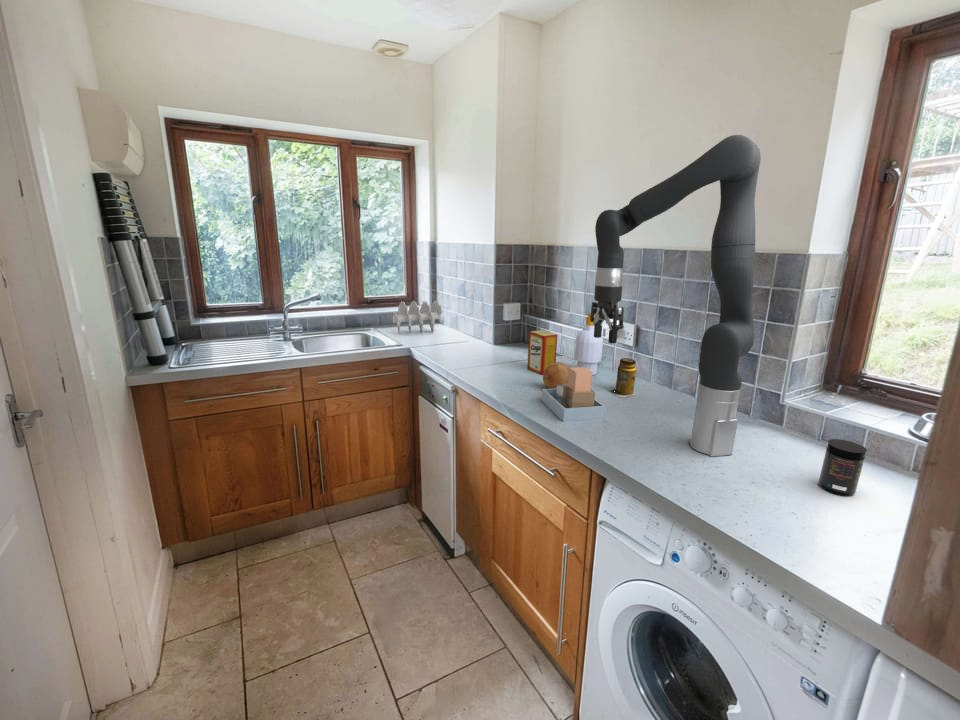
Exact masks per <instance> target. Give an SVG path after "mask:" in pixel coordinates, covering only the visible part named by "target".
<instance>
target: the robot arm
mask: <svg viewBox="0 0 960 720" xmlns="http://www.w3.org/2000/svg"><path fill="white" fill-rule="evenodd" d="M760 150H761V149H760V148H759V147H758V145H757V144H756V143H755V142H754V141H753V140H752V139H751V138H750V137H747V136H746V135H742V134H734V135H729V136H727V137H725V138H723V139H722V140H720V141H719V142H718V143H716V144H715V145H714V146H712V147H711V148H709V149H708V150H707V151H706V152H704V153H703V154H702V155H701V156H700V157H698V158H696V159H695V160H693V161H692V162H691V163H690V164H688V165H687V166H685V167H684V168H682V169H681V170H678V172H676V173H674V174H673V175H671V176H669V177H668V178H666V179H664V180H663V181H661V182H659V183H657V184H655V185H653V186H651V187H649V189H645V191H643V192H641V193H640V194H637V195H636V196H634V197H633V198H632V199H630V201H629V203H628V204H627V205H625V206H623V207H622V208H619V209H618V210H616V209H614V210H613V209H605V210H603V211H601V213H600V214H599V215H598V216H597V218H596V222H595V227H594V228H595V230H594V232H595V240H596V247H597V252H598V253H597V264H596V272H595V280H594V294H593V299H594V301H592V302H591V310H590V313H591V318H590V321H591V322H593V324H594V337H595V338H600V337H601V335H602V331H603V323H604V322H605V323H606V324H607V326H608V329H609V330H608V338H607V343H608V344H611V345H612V344H617V341H618V340H617V339H618V331H619V330H623V328H624V315H625V314H624V313H625V312H624V311H625V310H624V307H620V306H619V307H618V303H619V302H621V301H622V295H623V283H624V262H625V261H624V257H625V250H624V248H623V247H622V246H621V244H620V242H621V241H620V237H622V236H624V235H626V234H628V233H631V232H632V231H633V230H635V229H636V228H637V227H639V226H640V225H642V224H643V223H645V222H647V221H649V220H651V219H653V218H655V217H658V216H659V215H662V214H663V213H665V212H667V211H668V210H670V209H672V208H673V207H675V206H676V205H677V204H679V203H680V202H681V201H682V200H684V199H685V198H686V197H688V196H690V194H692V193H695V192H696V191H697V190H700V189H701V188H703V187H707V186H708V185H710V184H713V183H716V182H719V185H720V186H719V188H720V190H719V191H720V203H719V211H718V213H717V214H718V215H717V218H716V221H715V225H714V228H713V233H712V238H711V247H710V248H711V249H710V270H711V274H712V278H713V281H714V284H715V287H716V289H717V293H718V297H719V301H720V302H719V303H720V311H719V320H718V321H719V323H715V324H712V325H711V326H709V327H708V328H707V329H705V331H704V334H703V336H702V338H701V342H700V343H701V344H700V349H699V351H700V352H699V361H698V373H699V376H700V377H699V386H698V391H697V397H696V402H695V403H696V404H695V410H694V417H693V423H692V424H693V425H692V429H691V430H692V431H691V436H690V437H691V438H690V443H689V444H690V447H691V448H692V449H694V450H695V451H697V452H699V453H702V454H705V455H708V456H710V457H720V456H721V457H722V456H727V455H728V456H729V455H730V456H731V455H733V451H734V445H735V441H736V440H735V439H736V434H737V430H738V423H739V420H738V419H737V418H736V416H737V411H738V410H737V409H738V404H739V400H740V395H741V388H742V384H743V379H742V377H741V375H740V374H738V367H739V361H740V358H741V357H744V356H745V355H747V354H748V353H749V352H750V351H751V349H752V347H753V346H754V343H755V329H754V327H755V325H754V315H753V289H754V275H755V274H754V271H755V257H756V207H755V202H756V201H755V200H756V192H757V191H756V190H757V184H758V183H757V182H758V177H759V171H760V165H761V160H762V159H761V151H760ZM594 314H595V316H594ZM594 317H595V318H594ZM602 336H603V335H602Z"/></svg>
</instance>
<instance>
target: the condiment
mask: <svg viewBox="0 0 960 720" xmlns="http://www.w3.org/2000/svg"><path fill="white" fill-rule="evenodd" d="M618 364H619V365H618V367H617V373H616V375H617V376H616V383H615V388H614V389H611V390H608V393H609V394H612V395H614V396H617V397H618V398H619V397H620V398H626V397H633V396H635V395H639V392H635V391H634V390H635V381H636V372H637V368H636V364H637V361H636V360H635V359H633V358H629V357H628V358H627V357H625V358H623V357H622V358H620V360H619V363H618ZM614 391H615V392H614ZM633 392H634V393H636V394H633ZM632 394H633V395H632Z"/></svg>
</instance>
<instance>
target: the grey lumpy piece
mask: <svg viewBox="0 0 960 720" xmlns="http://www.w3.org/2000/svg"><path fill="white" fill-rule="evenodd" d="M417 303H418V302H417V301H415V300H412V302H411V303H410V304H409V308H408V306H406V303H405V301H400V303H399V305H398V308H397V312H396V311H394V315H392V323H393V324H396V327H397V332H398V334H399V335H401V326H402V325H403V324H404V323H407V327H408V332H409V333H410V334H412V325H413V324H414V322H419V323H418V324H419V325H418V328H419V331H420V333H421V334H424V333H423V332H424V326H423V325H425V321H429V328H430V331H431V333H434V332H435V324H436V322H435V321H436V320H440V318H441V317H440V316H441V315H442V314H443V308H442V304H440V303H439V300H434V302H432V304H431V305H430V304H428V301H427V300H425V301H422V303H421V305H420V307H419V306H418V304H417Z"/></svg>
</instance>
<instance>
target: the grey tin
mask: <svg viewBox="0 0 960 720" xmlns="http://www.w3.org/2000/svg"><path fill="white" fill-rule="evenodd" d="M563 386H568V384H567V383H563V384H558V385H557V393H556V400H557V401H558V402H559V403H560V404H561V405H562V398H563Z"/></svg>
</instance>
